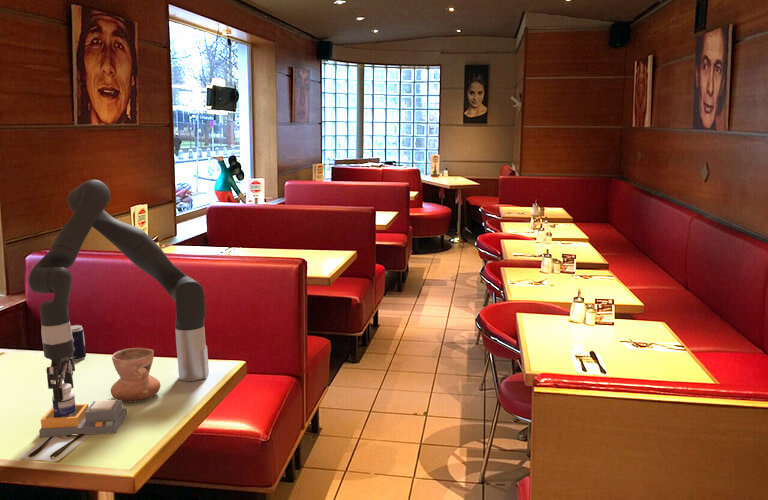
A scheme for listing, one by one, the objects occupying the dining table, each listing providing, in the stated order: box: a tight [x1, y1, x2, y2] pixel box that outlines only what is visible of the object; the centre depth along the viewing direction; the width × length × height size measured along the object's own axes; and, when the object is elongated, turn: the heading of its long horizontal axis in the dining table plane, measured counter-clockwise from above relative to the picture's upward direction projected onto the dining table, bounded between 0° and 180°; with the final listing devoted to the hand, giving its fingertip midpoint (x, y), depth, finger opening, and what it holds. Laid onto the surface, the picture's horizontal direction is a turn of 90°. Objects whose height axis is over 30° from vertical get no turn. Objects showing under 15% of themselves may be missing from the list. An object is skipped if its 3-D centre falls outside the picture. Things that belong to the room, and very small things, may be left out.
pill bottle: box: [51, 382, 77, 418], centre depth 196 cm, size 6×6×10 cm
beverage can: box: [71, 324, 87, 362], centre depth 254 cm, size 6×6×12 cm
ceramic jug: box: [110, 347, 161, 403], centre depth 217 cm, size 18×14×14 cm
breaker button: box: [90, 399, 116, 411], centre depth 198 cm, size 5×5×4 cm
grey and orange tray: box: [38, 399, 128, 438], centre depth 197 cm, size 20×12×6 cm, turn 95°
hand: (64, 394), depth 196 cm, fingers open, 8 cm apart
